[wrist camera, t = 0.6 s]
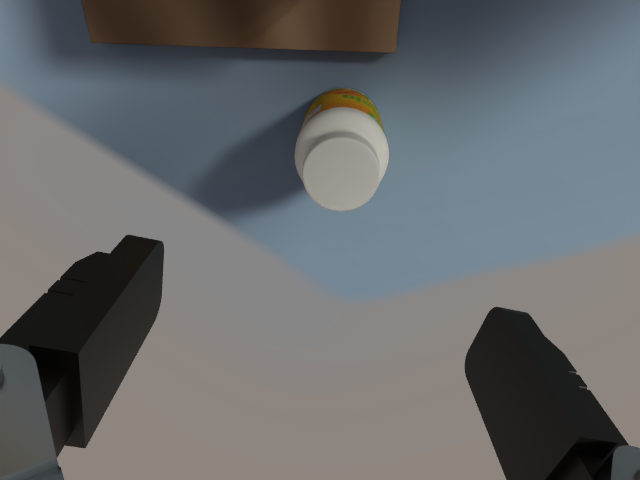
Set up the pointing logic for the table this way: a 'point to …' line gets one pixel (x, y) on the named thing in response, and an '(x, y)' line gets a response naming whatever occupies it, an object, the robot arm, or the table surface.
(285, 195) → the table surface
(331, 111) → the supplement bottle
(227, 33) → the collar block
